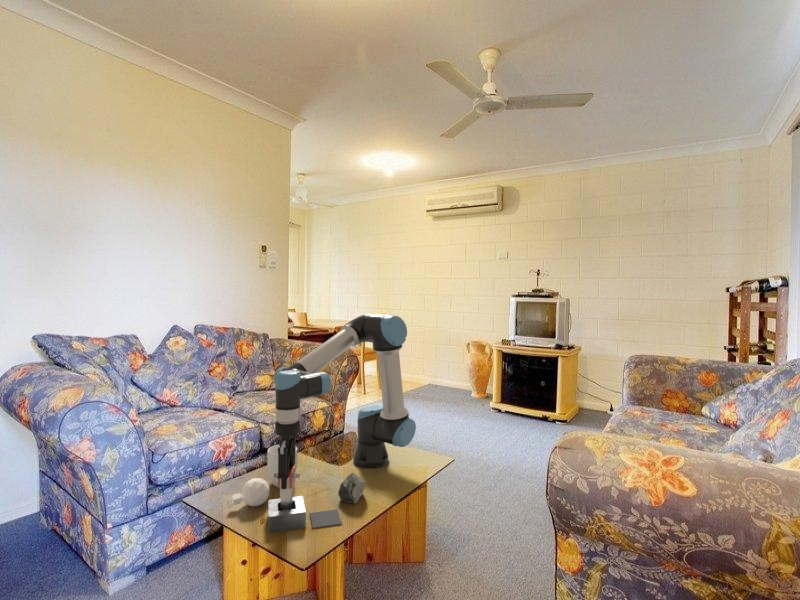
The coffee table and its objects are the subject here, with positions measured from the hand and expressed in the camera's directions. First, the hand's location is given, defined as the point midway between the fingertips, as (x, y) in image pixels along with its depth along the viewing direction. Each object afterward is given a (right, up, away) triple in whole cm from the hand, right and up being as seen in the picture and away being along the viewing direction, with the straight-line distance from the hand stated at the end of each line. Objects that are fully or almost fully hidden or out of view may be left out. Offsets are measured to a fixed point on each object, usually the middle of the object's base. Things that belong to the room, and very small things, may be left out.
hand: (286, 493), depth 136 cm
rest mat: (+12, -9, +2) cm, 15 cm away
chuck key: (0, -6, 0) cm, 6 cm away
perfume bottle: (-15, -9, +10) cm, 20 cm away
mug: (-8, -8, +26) cm, 29 cm away
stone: (+19, -9, +15) cm, 26 cm away
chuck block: (0, -9, 0) cm, 9 cm away
